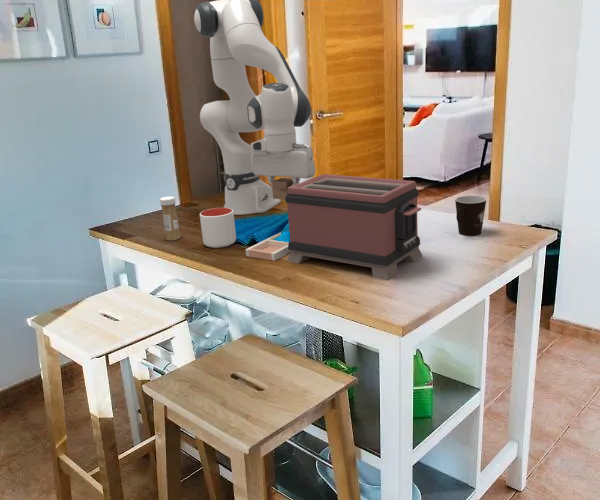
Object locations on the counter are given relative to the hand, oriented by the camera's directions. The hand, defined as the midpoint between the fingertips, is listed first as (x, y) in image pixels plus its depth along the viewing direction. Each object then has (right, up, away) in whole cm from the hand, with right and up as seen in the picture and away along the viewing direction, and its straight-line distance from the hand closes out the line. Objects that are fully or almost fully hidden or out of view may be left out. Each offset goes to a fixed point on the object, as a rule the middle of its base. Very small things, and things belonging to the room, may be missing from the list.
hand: (284, 191), depth 173 cm
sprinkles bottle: (-36, -13, +18) cm, 42 cm away
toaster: (+20, -20, -12) cm, 31 cm away
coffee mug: (+53, -12, +2) cm, 54 cm away
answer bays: (-1, -16, +2) cm, 16 cm away
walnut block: (0, -2, +1) cm, 2 cm away
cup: (-20, -15, +10) cm, 27 cm away
